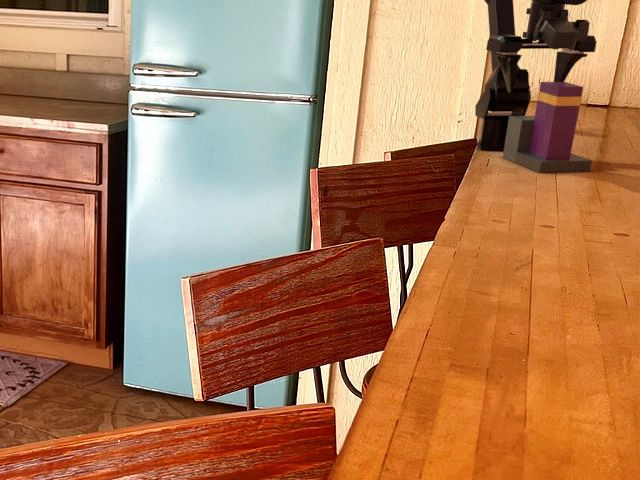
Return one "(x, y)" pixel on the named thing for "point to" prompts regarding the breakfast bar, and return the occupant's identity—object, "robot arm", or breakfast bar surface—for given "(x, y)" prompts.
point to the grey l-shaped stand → (520, 154)
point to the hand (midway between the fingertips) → (533, 92)
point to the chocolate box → (555, 120)
